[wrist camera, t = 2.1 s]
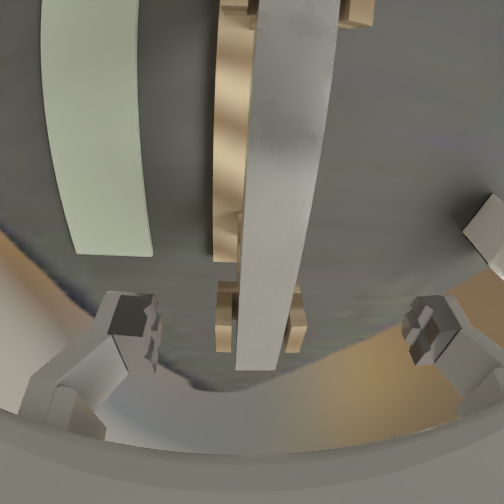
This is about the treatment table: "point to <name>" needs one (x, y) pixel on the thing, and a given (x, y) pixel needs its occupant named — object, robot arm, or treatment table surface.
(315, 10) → the aluminium rail
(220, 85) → the hook rack
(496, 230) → the medicine bottle
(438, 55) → the treatment table surface
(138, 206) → the sage mat
